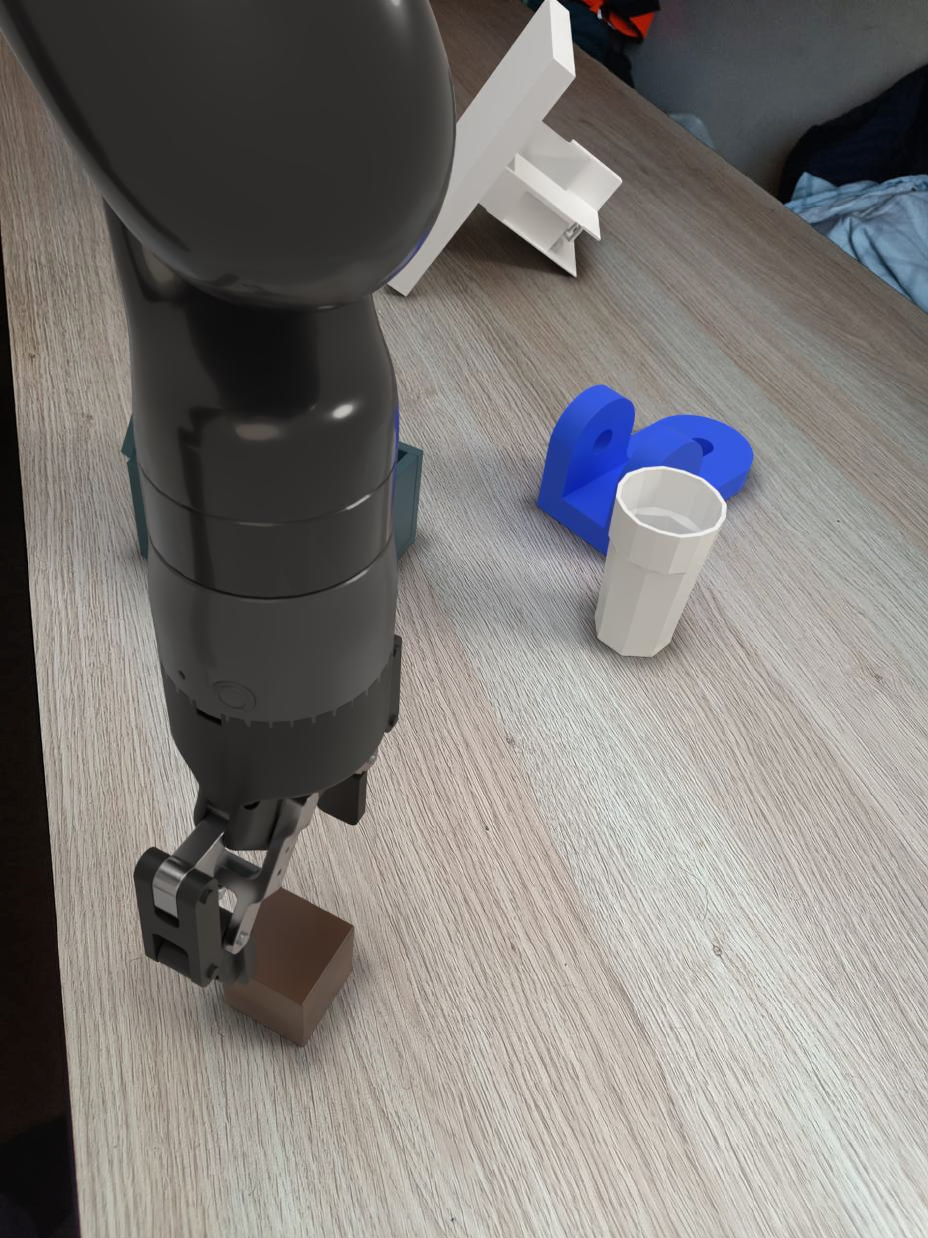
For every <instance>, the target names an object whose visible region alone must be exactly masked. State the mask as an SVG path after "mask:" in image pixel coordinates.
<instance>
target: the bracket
mask: <svg viewBox="0 0 928 1238" xmlns="http://www.w3.org/2000/svg"><path fill="white" fill-rule="evenodd" d="M635 419H636V410H635V405H634V403H633V402H632V401H631V400H630V399H628V398H627V397H625V396H623V395H622V394H621V393H619V392H618V391H615V390H614V389H613V388H611V387H609V386H608V385H606V384H595V385H592V386H590V387H588V388H586V389H584V390H583V391H582V392H580V393H579V394H578V395H577V396H576V397H574V398H573V400H572V401H570V402H569V404H568V405H567V407H566V408H565V409H564V410H563V411H562V413H561V415H560V416H559V418H558V420H557V422H556V423H555V425H554V428H553V430H552V432H551V435H550V437H549V441H548V445H547V451H546V456H545V460H544V466H543V471H542V477H541V481H540V486H539V490H538V491H539V492H538V496H537V497H538V498H537V502H536V507H538V508H539V509H540V510H541V511H544V513H546V514H548V515H549V516H550V517H551V518H553V519H554V520H556V521H557V522H558V523H560V524H561V525H563V526H564V527H566V528H567V529H568V530H570V531H571V532H572V533H573V534H575V535H577V536H578V537H579V538H581V539H582V540H583V541H585V542H586V543H587V544H589V545H590V546H592V547H593V548H594V549H596V550H597V551H598V552H600V553H601V554H603V555H604V556H605V557H607V551H608V546H609V541H610V538H609V536H608V534H609V529H610V524H611V519H612V513H613V508H614V503H615V498H616V493H617V488H618V484H619V482H620V481H621V480H622V479H623V478H624V476H625V475H626V474H627V473H629V472H632V471H635V470H638V469H641V468H645V467H657V466H665V467H670V468H675V469H679V470H684V471H686V472H689V473H691V474H694V475H696V476H698V477H701V478H703V479H705V480H706V481H707V482H708V483H709V484H710V485H712V486H713V487H714V488H715V489H716V490H717V491H718V492H719V493H720V495H721V496H722V498H723V499H724V501H725V502H726V501H727V500H728V499H730V498H731V497H733V496H735V495H736V494H738V493H739V492H740V491H742V489H743V488H744V486H745V483H746V482H747V481H746V480H747V477H748V476H749V472H750V470H751V468H752V465H753V462H754V451H753V447H752V445H751V444H750V442H749V441H748V440H747V438H746V437H745V436H744V435H743V434H742V433H741V432H739V431H738V430H737V429H735V428H734V427H732V426H730V425H728V424H726V423H724V422H722V421H719V420H717V419H714V418H711V417H707V416H702V415H695V414H675V415H670V416H666V417H663V418H660V419H658V420H657V421H655V422H654V423H651V424H650V425H647V426H646V427H644V428H642V429H640V430H639V431H636V432H634V433H633V429H634V425H635ZM632 433H633V434H632Z"/></svg>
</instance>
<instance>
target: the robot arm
mask: <svg viewBox="0 0 928 1238" xmlns="http://www.w3.org/2000/svg"><path fill="white" fill-rule="evenodd" d="M0 33H1V34H2V36H3V37H4V40H5V41H6V43H7V45H8V47H9V48H10V50H11V51H12V53H13V55H14V57H15V59H16V60H17V62H18V64H19V65H20V67H21V69H22V71H23V72H24V74H25V75H26V77H27V79H28V81H29V83H30V84H31V86H32V87H33V89H34V91H35V93H36V94H37V96H38V97H39V99H40V101H41V102H42V105H43V106H44V108H45V109H46V111H47V112H48V114H49V116H50V117H51V119H52V121H53V122H54V124H55V126H56V127H57V129H58V130H59V132H60V134H61V135H62V137H63V139H64V140H65V142H66V144H67V145H68V146H69V148H70V150H71V151H72V153H73V154H74V156H75V157H76V159H77V161H78V162H79V164H80V165H81V166H82V168H83V169H84V171H85V173H86V174H87V176H88V177H89V179H90V180H91V182H92V183H93V185H94V186H95V187H96V189H97V190H98V192H99V194H100V200H101V205H102V209H103V214H104V220H105V224H106V228H107V233H108V238H109V243H110V248H111V254H112V259H113V262H114V266H115V272H116V276H117V277H116V278H117V282H118V284H119V290H120V294H121V298H122V303H123V308H124V313H125V319H126V320H125V321H126V325H127V335H128V345H129V361H130V386H131V387H130V388H131V415H132V420H133V431H134V442H135V449H136V458H137V465H138V471H139V478H140V484H141V491H142V497H143V504H144V510H145V517H146V523H147V529H148V559H147V590H148V601H149V606H150V611H151V617H152V618H151V619H152V624H153V631H154V636H155V643H156V650H157V655H158V662H159V668H160V675H161V680H162V687H163V693H164V699H165V705H166V712H167V718H168V724H169V729H170V734H171V737H172V740H173V742H174V744H175V746H176V748H177V750H178V753H179V754H180V756H181V757H182V760H184V763H185V764H186V765H187V767H188V769H189V770H190V772H191V774H192V775H193V777H194V778H195V780H196V782H197V784H198V791H197V797H196V801H195V804H194V808H193V813H192V816H193V817H192V818H193V824H194V827H195V828H194V829H193V830H192V831H191V832H190V833H189V835H188V836H187V837H186V838H185V839H184V840H183V842H182V843H181V844H180V845H179V846H178V848H176V850H175V851H174V852H173V853H172V854H170V853H168V852H165V851H164V850H162V849H160V848H158V847H156V846H151V847H148V848H147V849H146V850H145V851H144V852H143V853H142V854H141V856H140V857H139V858H138V860H137V862H136V864H135V867H134V870H133V875H132V878H133V884H134V891H135V897H136V904H137V911H138V917H139V925H140V930H141V931H140V932H141V937H142V944H143V950H144V955H145V957H147V958H148V959H150V960H152V961H154V962H155V963H160V964H162V965H164V966H166V967H167V968H170V969H171V970H173V971H175V972H176V973H178V974H180V975H182V976H184V977H186V978H187V979H189V980H190V982H191V983H193V984H195V985H197V986H199V987H200V988H202V989H205V988H206V987H208V986H209V985H211V983H212V982H213V981H214V980H216V981H218V982H219V983H223V984H225V985H226V986H228V987H231V988H232V986H233V985H234V983H235V982H237V983H239V984H242V985H247V984H248V983H249V981H250V980H251V978H252V977H253V975H254V974H255V972H256V971H257V969H258V968H257V957H256V946H255V936H254V929H252V927H253V924H254V921H255V919H256V916H257V913H258V910H259V907H260V905H261V902H262V901H263V900H265V899H266V898H268V897H269V896H271V895H272V894H274V893H275V892H277V891H278V890H279V888H280V887H282V884H283V881H284V878H285V875H286V873H287V870H288V867H289V864H290V861H291V858H292V855H293V853H294V850H295V847H296V845H297V841H298V839H299V837H300V834H301V832H302V831H303V830H305V829H307V827H309V826H310V824H311V821H312V819H313V816H314V813H315V811H316V809H317V808H318V809H319V810H320V811H321V812H322V813H324V814H326V815H329V816H330V817H333V818H334V819H337V820H338V821H341V822H343V823H344V824H347V825H349V826H353V827H354V826H357V825H358V824H359V822H360V821H361V819H362V818H363V817H364V815H365V813H366V807H367V804H366V803H367V787H368V771H369V770H370V769H371V768H372V766H373V765H375V763H376V762H377V759H378V752H379V746H380V744H381V742H382V740H383V738H384V735H385V733H386V734H389V733H390V732H391V731H392V730H393V729H394V728H395V727H396V725H397V724H398V721H399V714H400V704H401V703H400V702H401V681H402V679H401V678H402V677H401V675H402V655H403V654H402V652H403V638H402V636H401V635H398V634H396V633H395V631H396V617H397V604H398V592H399V591H398V590H399V589H398V587H399V584H398V582H399V569H398V560H397V556H396V548H395V540H394V507H395V492H396V476H397V461H398V448H399V441H400V419H401V417H400V402H399V391H398V383H397V376H396V372H395V367H394V363H393V360H392V357H391V353H390V351H389V348H388V345H387V341H386V339H385V336H384V333H383V330H382V328H381V324H380V321H379V317H378V314H377V309H376V305H375V301H374V296H373V295H374V293H376V292H377V291H379V290H381V289H382V288H383V287H384V286H385V285H388V284H387V283H388V282H389V281H391V280H392V279H393V278H394V277H395V276H396V275H397V274H398V273H400V272H401V271H402V270H403V269H404V268H405V267H406V266H407V264H408V263H409V262H410V261H411V260H412V258H413V257H414V256H415V255H416V254H417V252H418V251H419V249H420V248H421V246H422V245H423V243H424V242H425V241H426V239H427V237H428V236H429V234H430V232H431V230H432V228H433V226H434V224H435V223H436V220H437V218H438V216H439V213H440V211H441V209H442V206H443V203H444V200H445V197H446V194H447V191H448V187H449V183H450V179H451V175H452V170H453V163H454V156H455V148H456V124H457V106H456V97H455V96H456V95H455V88H454V83H453V78H452V72H451V68H450V67H451V66H450V63H449V59H448V54H447V52H446V47H445V45H444V41H443V38H442V35H441V32H440V28H439V26H438V22H437V19H436V17H435V13H434V10H433V9H432V5H431V3H430V0H0ZM231 851H233V852H253V851H255V852H265V851H266V853H265V857H264V858H263V862H262V863H261V867H260V866H259V865H256V864H254V863H253V862H251V861H249V860H247V859H245V858H243V857H242V856H239V855H237V854H235V853H233V852H231ZM227 890H228V891H230V892H232V894H234V895H235V897H236V903H235V906H234V909H233V911H229V909H226V908H224V907H222V906H221V905H220V901H221V900H222V899H223V898H224V896H225V894H226V892H227Z"/></svg>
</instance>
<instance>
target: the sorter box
mask: <svg viewBox="0 0 928 1238" xmlns="http://www.w3.org/2000/svg"><path fill="white" fill-rule="evenodd" d="M423 461H424V449H421V448H419V447H416V446H413V445H410V444H408V443H406V442H404V441H401V440H399V448H398V461H397V476H396V492H395V507H394V540H395V548H396V556H397V561H399V560H400V558H401V557H402V556H403V555H404V554H405V553H406V551H407V550H408V549H409V548H410V547H411V545H412V544H413V543H414V542H415V541H416V536H417V535H416V534H417V526H418V516H419V515H418V513H419V504H420V492H421V483H422V474H423V473H422V471H423V463H424V462H423ZM126 467H127V474H128V479H129V480H128V481H129V486H130V492H131V493H130V494H131V499H132V500H131V501H132V507H133V514H134V520H135V526H136V533H137V534H136V535H137V541H138V546H139V553H140V556H141V557H143V558H145V559H147V560H148V529H147V523H146V517H145V510H144V504H143V497H142V491H141V484H140V478H139V471H138V465H137V458H136V456H134V457H133V458H132V459H128V460H127V461H126Z"/></svg>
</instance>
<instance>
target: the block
mask: <svg viewBox="0 0 928 1238" xmlns="http://www.w3.org/2000/svg"><path fill="white" fill-rule="evenodd" d="M355 927H356V926H355V925H354V924H352V923H350V922H348V921H347V920H345V919H342V918H341V917H339V916H337V915H335V914H333V913H331V912H330V911H328V910H326V909H324V908H322V907H320V906H318V905H316V904H315V903H312V902H310V901H309V900H306V899H305V898H303V897H301V896H300V895H297V894H296V893H294V892H292V891H289V890H288V889H286V888H284V887H282V886H281V887H280V888H279V890H278V891H277V892H275V893H274V894H272V895H271V896H269V897H268V898H266V899H265V900H263V901H262V902H261V905H260V907H259V910H258V913H257V916H256V919H255V921H254V924H253V927H252V929H254V936H255V946H256V957H257V968H258V969H257V971H256V972H255V974H254V975H253V977H252V978H251V980H250V981H249V983H248V984H247V985H242V984H239V983H237V982H235V983H234V985H233V986H232V988H231V987H228V986H226V985H225V984H223V983H222V993H223V999H224V1004H226V1005H228V1006H230V1007H232V1008H233V1009H235V1010H237V1011H239V1012H240V1013H242V1014H243V1015H245V1016H248V1018H250V1019H253V1020H254V1021H256V1022H258V1023H259V1024H261V1025H263V1026H265V1027H266V1028H268V1029H270V1030H272V1031H274V1032H275V1033H277V1034H279V1035H281V1036H282V1037H284V1038H286V1039H287V1040H289V1041H291V1042H293V1043H294V1044H296V1045H297V1046H300V1047H302V1048H304V1047H305V1045H306V1044H307V1043H308V1041H309V1039H310V1038H311V1036H312V1034H313V1033H314V1031H315V1029H316V1028H317V1027H318V1025H319V1023H320V1022H321V1020H322V1019H323V1017H324V1015H325V1014H326V1012H327V1011H328V1009H329V1008H330V1006H331V1004H332V1003H333V1001H334V1000H335V998H336V997H337V995H338V993H339V992H340V990H342V989H341V988H342V987H343V986H344V984H345V983H346V981H347V979H348V977H349V976H350V975H351V974H352V972H353V961H354V959H353V958H354V946H355V945H354V944H355V943H354V941H355Z"/></svg>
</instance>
